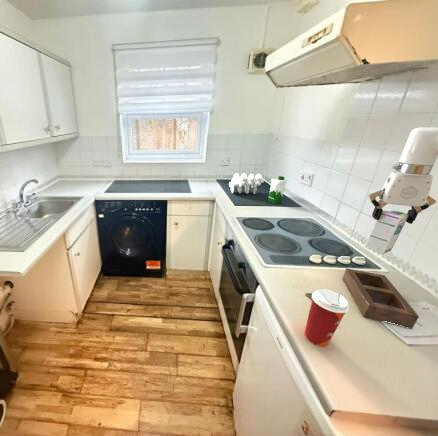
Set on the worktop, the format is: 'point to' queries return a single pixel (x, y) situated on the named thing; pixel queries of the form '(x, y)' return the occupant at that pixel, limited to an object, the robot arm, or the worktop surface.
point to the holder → (379, 298)
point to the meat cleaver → (309, 295)
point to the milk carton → (276, 190)
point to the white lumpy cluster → (246, 182)
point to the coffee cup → (324, 316)
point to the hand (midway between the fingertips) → (391, 220)
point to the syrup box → (386, 231)
